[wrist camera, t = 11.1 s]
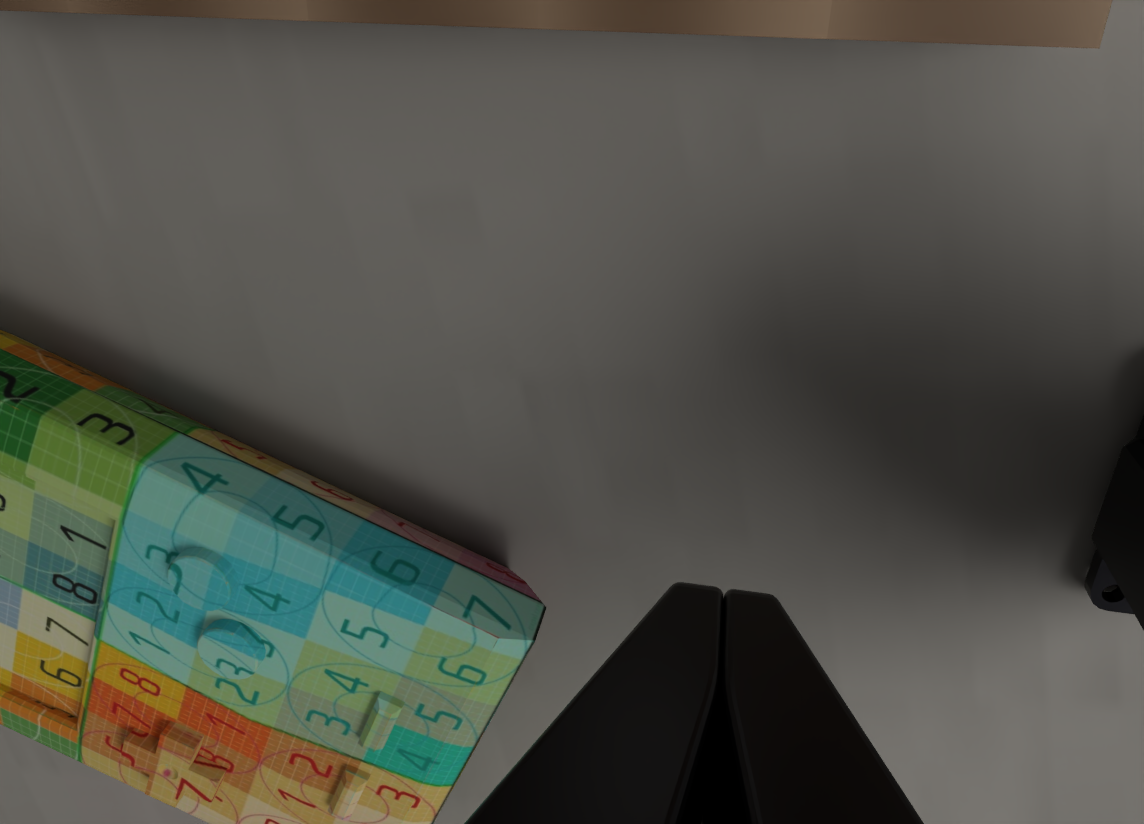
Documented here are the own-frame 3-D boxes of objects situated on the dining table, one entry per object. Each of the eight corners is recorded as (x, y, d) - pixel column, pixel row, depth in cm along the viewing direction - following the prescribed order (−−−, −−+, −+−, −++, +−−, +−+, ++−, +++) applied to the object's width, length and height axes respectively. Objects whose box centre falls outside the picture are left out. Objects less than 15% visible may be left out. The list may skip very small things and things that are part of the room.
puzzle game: (379, 929, 26) (-260, 636, 25) (432, 795, 30) (-115, 540, 29) (525, 669, 20) (-297, 283, 19) (566, 548, 24) (-111, 227, 23)
